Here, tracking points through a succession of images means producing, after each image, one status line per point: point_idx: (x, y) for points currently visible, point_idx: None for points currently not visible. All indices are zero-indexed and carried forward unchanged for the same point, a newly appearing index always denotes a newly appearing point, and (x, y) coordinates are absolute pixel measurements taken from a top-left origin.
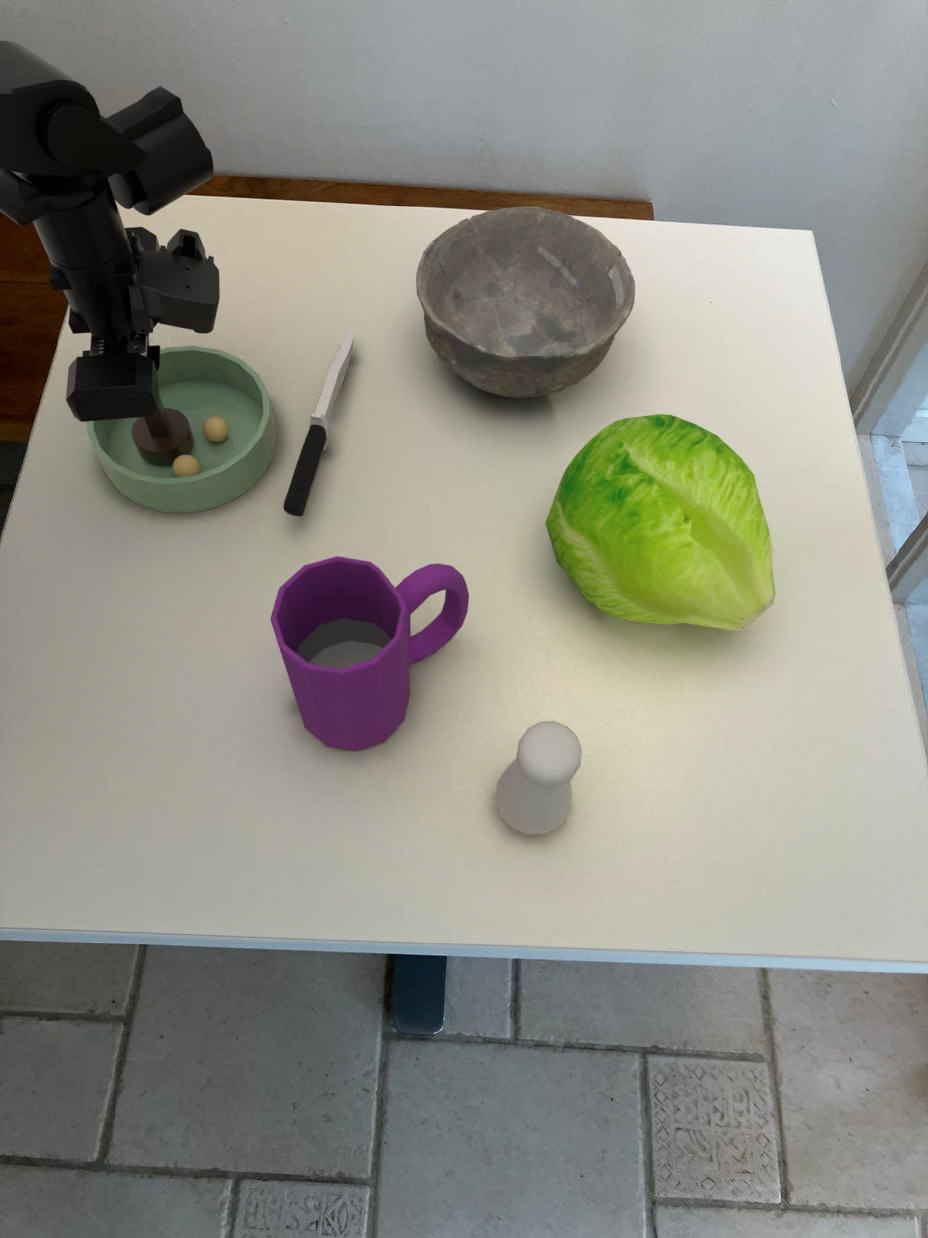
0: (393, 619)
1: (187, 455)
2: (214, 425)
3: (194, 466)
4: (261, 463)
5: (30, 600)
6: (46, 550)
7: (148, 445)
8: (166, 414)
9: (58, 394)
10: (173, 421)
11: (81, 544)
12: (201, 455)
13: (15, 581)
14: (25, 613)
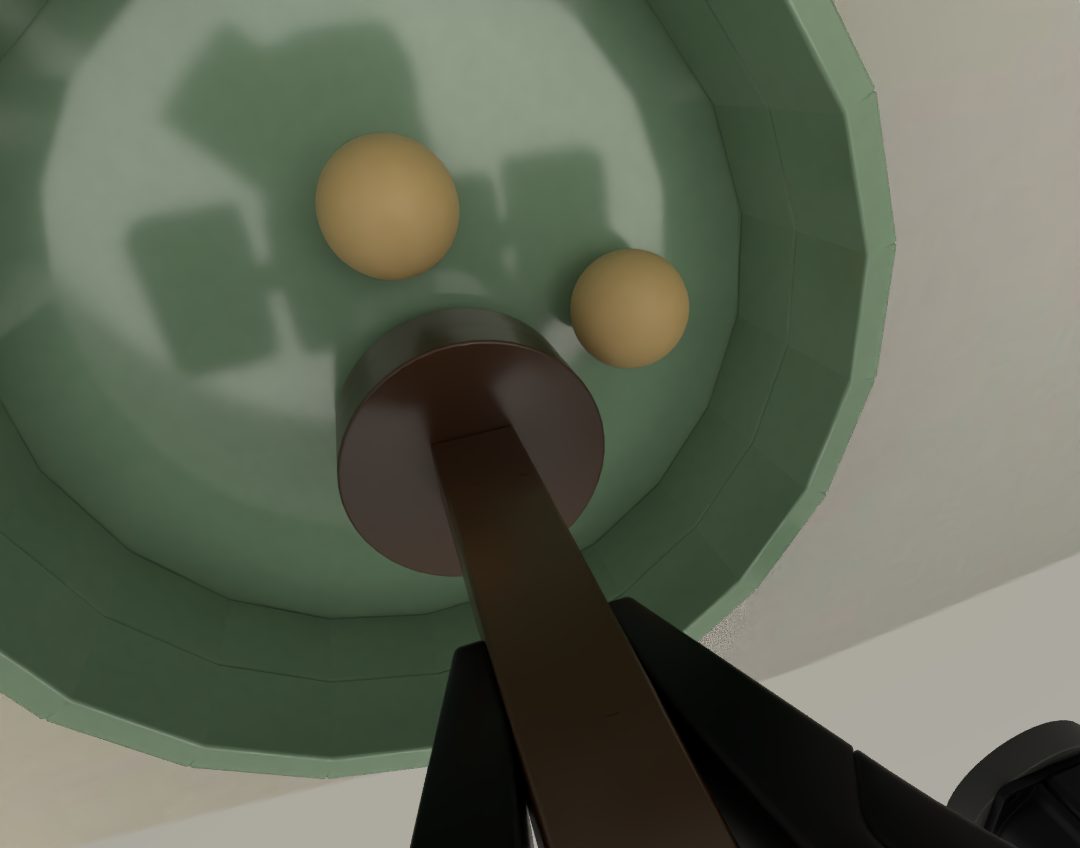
0: None
1: (616, 314)
2: (426, 209)
3: (663, 270)
4: None
5: (923, 587)
6: (802, 608)
7: (572, 489)
8: (444, 471)
9: (237, 797)
10: (428, 426)
11: (802, 541)
12: (497, 262)
13: (868, 632)
14: (951, 584)
